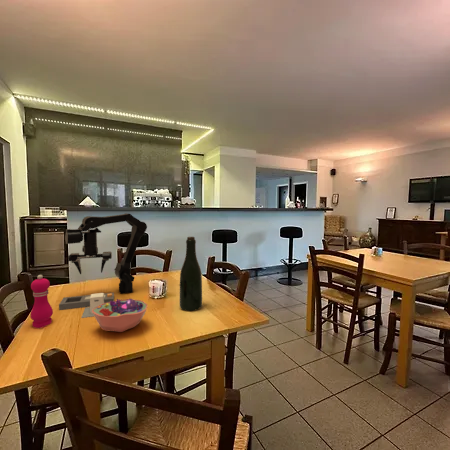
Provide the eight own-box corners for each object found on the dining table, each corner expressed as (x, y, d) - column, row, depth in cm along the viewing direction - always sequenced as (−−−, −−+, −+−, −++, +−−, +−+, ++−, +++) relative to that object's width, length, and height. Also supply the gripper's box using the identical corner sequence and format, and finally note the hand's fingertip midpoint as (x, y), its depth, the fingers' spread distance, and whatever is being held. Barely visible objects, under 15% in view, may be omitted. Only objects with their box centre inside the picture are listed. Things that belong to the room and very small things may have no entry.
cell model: (103, 318, 108) (102, 292, 107) (152, 317, 110) (151, 291, 109) (84, 340, 92) (83, 308, 91) (142, 338, 93) (141, 307, 92)
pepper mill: (57, 322, 105) (55, 273, 103) (39, 330, 98) (37, 278, 96) (44, 319, 107) (42, 271, 105) (26, 327, 100) (23, 276, 99)
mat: (111, 305, 122) (111, 304, 122) (110, 315, 112) (110, 313, 112) (85, 308, 118) (85, 307, 118) (81, 319, 108) (81, 317, 108)
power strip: (114, 299, 131) (114, 290, 131) (113, 305, 123) (113, 297, 123) (63, 304, 124) (63, 295, 123) (59, 312, 115) (58, 302, 115)
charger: (104, 307, 118) (103, 292, 117) (103, 312, 113) (102, 296, 113) (91, 309, 116) (91, 294, 116) (90, 313, 111) (89, 297, 111)
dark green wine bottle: (174, 307, 121) (174, 236, 118) (192, 301, 129) (192, 234, 126) (189, 313, 114) (189, 239, 111) (206, 307, 122) (207, 236, 119)
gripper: (112, 239, 139) (112, 268, 140) (71, 240, 132) (72, 270, 133) (110, 242, 128) (111, 273, 129) (67, 243, 122) (68, 276, 123)
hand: (91, 273), depth 129 cm, fingers open, 9 cm apart
